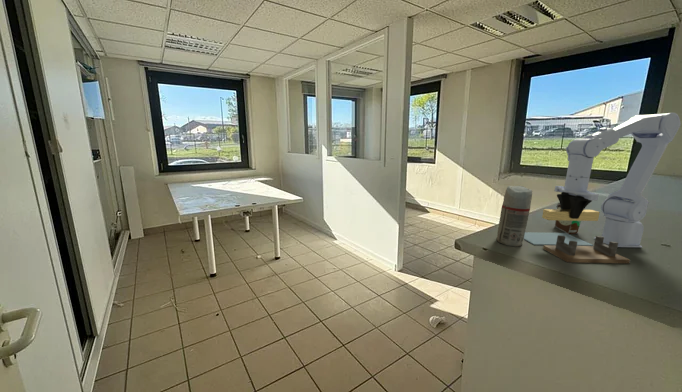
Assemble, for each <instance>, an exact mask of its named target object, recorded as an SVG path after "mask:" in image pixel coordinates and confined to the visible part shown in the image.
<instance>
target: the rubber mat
mask: <svg viewBox="0 0 682 392" xmlns="http://www.w3.org/2000/svg"><path fill="white" fill-rule="evenodd" d="M558 235H559V236H565V241H564V243H566V244H568V245H569V241H576V242H577V246H594V244H592V243H589V242H588V241H585V240H584V239H581V238H578V237H575V236H574V235H572V234H567V233H566V232H536V231H535V232H529V231H528V232H526V231H525V235H524V239H523V241H526V242H528V243H529V244H531V245H533V246H544V245H556V242H557V237H558Z"/></svg>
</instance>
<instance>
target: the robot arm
mask: <svg viewBox="0 0 682 392" xmlns="http://www.w3.org/2000/svg"><path fill="white" fill-rule="evenodd" d="M681 125H682V122H681V118H680V116H679V114H678V113H677V112H668V113H667V112H666V113H654V114H636V115H634V116H632V117H629V118H628V120H626V121H625V122H622V123H621V124H619V125H617V126H615V127H601V128H598V131H596V132H593V133H590V134H587V135H585V137H583V138H575V139H573V140H572V141H570V142H569V143H568V145H567V146H566V148H565V152H566V154H567V161H568V166H567V169H566V170H567V172H566V175H565V176H566V177H565V182H564V186H563V185H555V187H554V190H553V191H554V192H557V194H556V198H557V199H558V203H560V205H561V209H571V213H570V217H571V218H572V219H578V218H579V216H580V215H581V213H582V211H583V210H584V208H585V209H586V208H587V206H588V205H589V204H590V203H592V202H593V201H598V200H599V193H595V192H592V191H590V190H588V187H589V182H590V177H591V173H592V168H593V164H594V163H593V162H594V159H595V157H597V156H599V154H600V153H601V152H602V151H603V150H605V149H607V148H609V147H611V146H613V145H615V144H617V143H618V142H619V140H620V138H623V137H625V136H628V135H631V136H632V137H633V139H634V140H635V141H636V142H637V143H639V144H641V148H640V150H639V152H638V153H637V156H636V157H635V160H634V161H633V163H632V165H631V167H630V169H629V170H628V173H627V175H626V177H625V179H624V181H623V183H622V185H621V187H620V189H618V190H615V191H612V192H610V193H609V194H608V196H607V197H606V198H605V199H604V200H603V201H602V202H601V204H600V211H601V212H602V213H603V217H605V219H604V223H603V229H602V232H601V236H602V237H604V240H603V244H606V245H608V246H609V243H610V242H617V243H618V247H617V248H643V246H642V245H641V243H642V238H643V234H644V225H643V223H642V222H641V220H643V219H644V218H645V217H646V215H647V212H648V210H647V209H648V205H649V203H650V202H649V200H648V199H647V198H646V197H645V196H644V195H643V192H644V190H645V188H646V187H647V185H648V183H649V182H650V179H651V178H652V176H653V174H654V171H655V170H656V168H657V166H658V164H659V162H660V160H661V159H662V156H663V155H664V153H665V152H666V150H667V147H668V146H669V143H671V142H673V141H674V138H675V136H676V135H677V133H678V131H679V129H680V127H681ZM559 193H560V194H559ZM595 238H596V236H595V237H593V240H595Z"/></svg>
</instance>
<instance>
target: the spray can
mask: <svg viewBox="0 0 682 392" xmlns="http://www.w3.org/2000/svg"><path fill="white" fill-rule="evenodd" d="M503 196H504V197H503V203H502V205H501V210H500V216H499V222H498V227H497V235H496V236H497V237H496V239H495V240H496V241H497V242H498V243H501V244H503V245H506V246H510V247H522V246H523V242H524V235H525V232H526V230H527V224H528V221H529V217H530V216H529V215H530V210H531V205H532V199H533V189H531V188H528V187H526V186H523V185H508V186H507V187H506V189H505V192H504V195H503Z"/></svg>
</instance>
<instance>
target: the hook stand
mask: <svg viewBox="0 0 682 392" xmlns="http://www.w3.org/2000/svg"><path fill="white" fill-rule="evenodd" d="M595 237H596V238H595V239H594V244H593V246H577V242H576V241H569V245H568V244H566V243H564V241H565V236H559V235H558V237H557V242H556V245H542V249H543V250H545V251H547V252H548V253H550V254H552V255H553V256H555V257H558V259H561V260H562V261H565V262H566V263H582V264H583V263H590V264H591V263H593V264H596V263H597V264H630V262H631V259H630V258H627V257H625V256H622V255H620V254H618V253H617V251H618V248H619V247H618V243H617V242H610V243H609V245H608V244H606V243H603V240H604V237H602V235H595Z"/></svg>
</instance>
